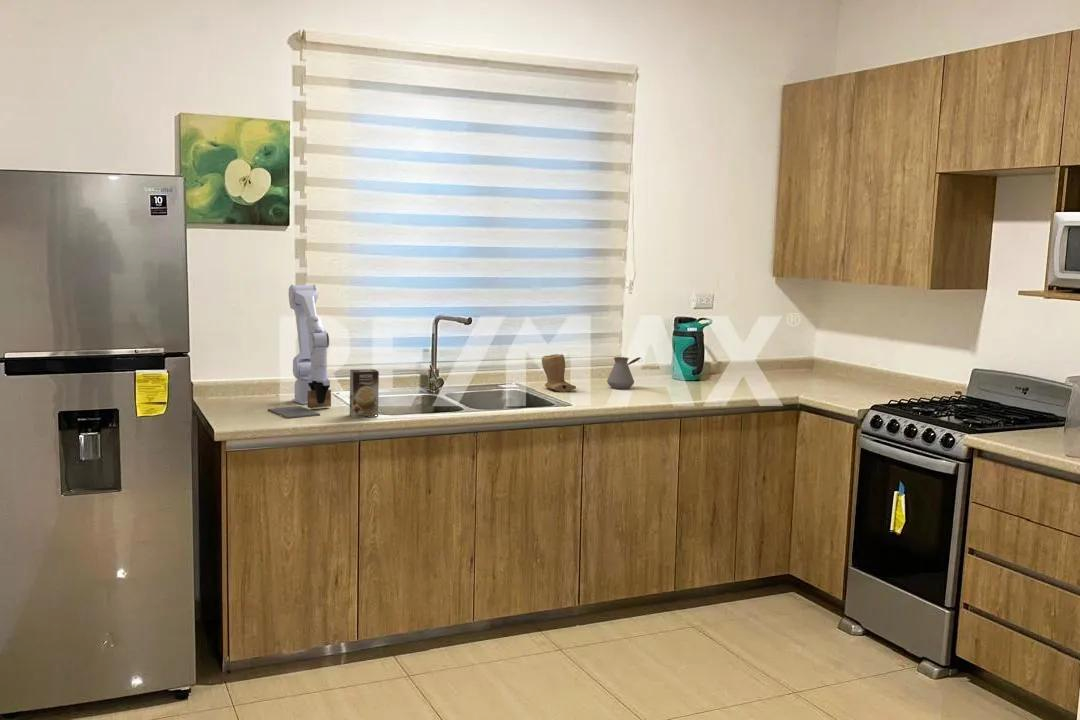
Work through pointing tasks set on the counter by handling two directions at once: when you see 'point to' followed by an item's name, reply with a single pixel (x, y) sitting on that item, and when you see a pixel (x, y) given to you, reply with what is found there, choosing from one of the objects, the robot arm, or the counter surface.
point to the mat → (294, 412)
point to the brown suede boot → (556, 373)
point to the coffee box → (364, 392)
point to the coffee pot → (621, 374)
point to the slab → (313, 401)
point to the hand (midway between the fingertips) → (319, 402)
